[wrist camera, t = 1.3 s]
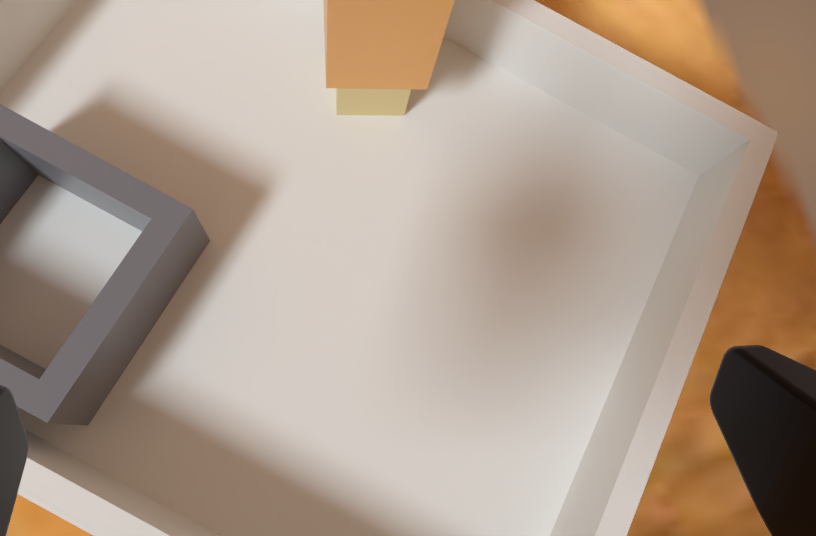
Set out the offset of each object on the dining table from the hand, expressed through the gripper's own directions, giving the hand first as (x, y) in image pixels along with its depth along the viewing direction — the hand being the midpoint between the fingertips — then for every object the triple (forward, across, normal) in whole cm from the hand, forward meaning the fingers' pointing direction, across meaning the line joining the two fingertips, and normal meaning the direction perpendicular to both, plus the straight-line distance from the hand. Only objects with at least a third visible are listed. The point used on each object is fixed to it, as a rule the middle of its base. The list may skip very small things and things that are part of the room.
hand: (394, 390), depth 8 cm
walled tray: (+14, +1, +5) cm, 15 cm away
